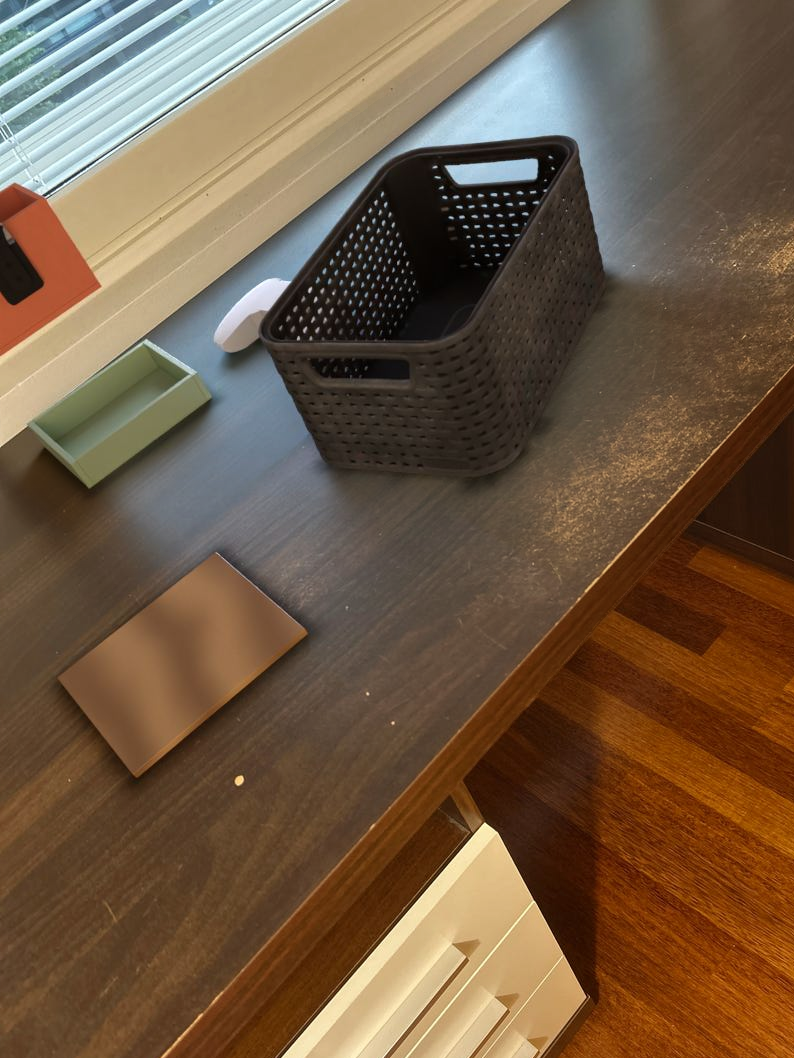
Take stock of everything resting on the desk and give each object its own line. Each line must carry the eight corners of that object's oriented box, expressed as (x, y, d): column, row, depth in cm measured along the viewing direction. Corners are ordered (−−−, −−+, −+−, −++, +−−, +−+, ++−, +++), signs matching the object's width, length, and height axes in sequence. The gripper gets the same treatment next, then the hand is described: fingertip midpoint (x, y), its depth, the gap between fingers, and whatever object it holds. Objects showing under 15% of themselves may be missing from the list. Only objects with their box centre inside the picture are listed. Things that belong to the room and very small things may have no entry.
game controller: (198, 337, 102) (247, 261, 105) (224, 366, 106) (270, 291, 108) (303, 354, 95) (353, 271, 97) (327, 384, 98) (374, 303, 101)
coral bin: (-9, 363, 82) (-77, 276, 76) (-36, 340, 86) (-103, 256, 80) (102, 286, 85) (45, 197, 79) (71, 268, 89) (14, 182, 83)
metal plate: (136, 778, 73) (132, 774, 72) (61, 681, 81) (56, 677, 81) (308, 633, 77) (305, 628, 76) (219, 556, 85) (215, 551, 85)
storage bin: (436, 272, 103) (391, 144, 93) (618, 268, 95) (589, 126, 85) (309, 471, 89) (240, 345, 79) (509, 486, 80) (460, 347, 70)
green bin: (92, 492, 96) (70, 464, 94) (47, 450, 103) (26, 423, 101) (215, 401, 100) (197, 372, 97) (163, 367, 107) (146, 338, 104)
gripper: (-228, 69, 74) (-63, 283, 88) (-166, 102, 64) (12, 340, 77) (-138, 19, 76) (10, 236, 90) (-63, 42, 66) (93, 284, 79)
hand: (10, 282), depth 83 cm, fingers closed on coral bin, 6 cm apart
